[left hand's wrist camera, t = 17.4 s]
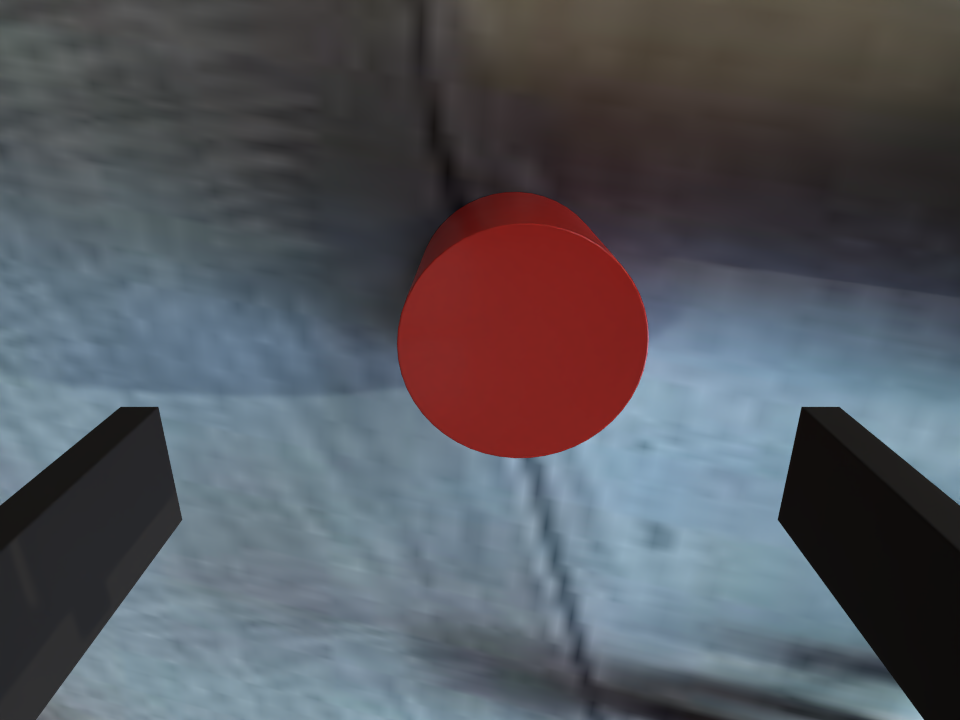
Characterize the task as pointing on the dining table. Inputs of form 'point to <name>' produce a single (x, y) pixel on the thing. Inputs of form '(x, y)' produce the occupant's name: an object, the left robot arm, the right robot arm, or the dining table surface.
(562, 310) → the tin
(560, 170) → the dining table surface
